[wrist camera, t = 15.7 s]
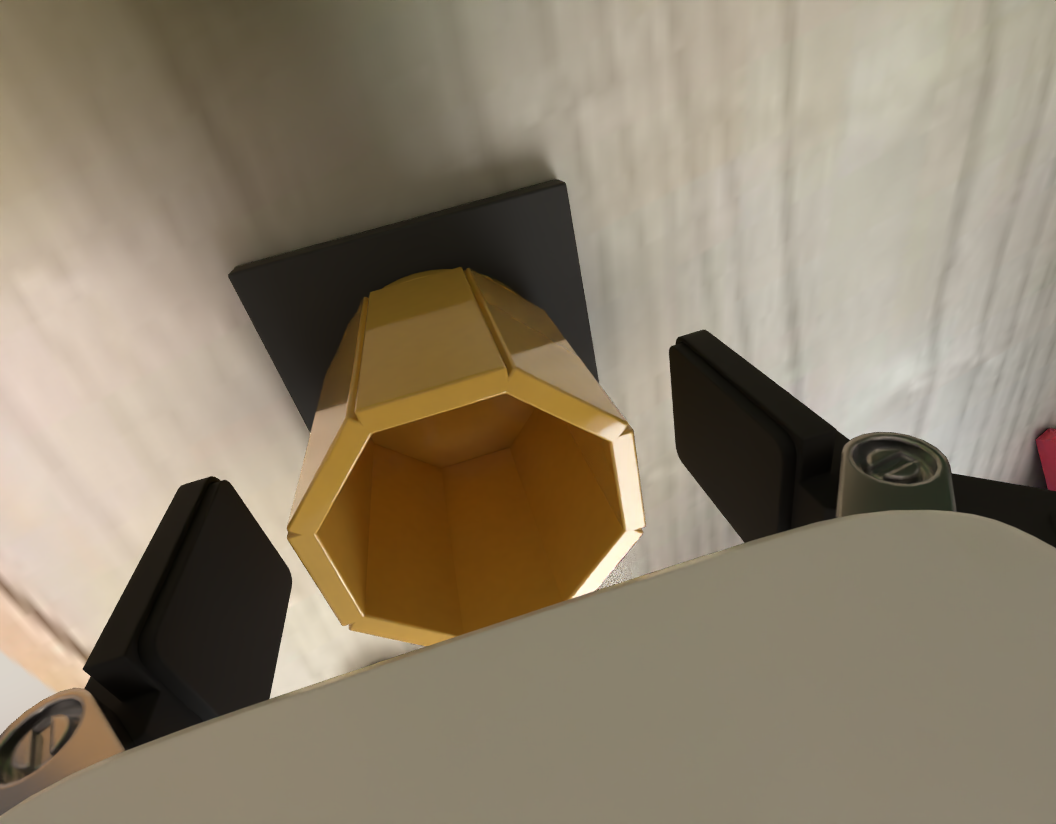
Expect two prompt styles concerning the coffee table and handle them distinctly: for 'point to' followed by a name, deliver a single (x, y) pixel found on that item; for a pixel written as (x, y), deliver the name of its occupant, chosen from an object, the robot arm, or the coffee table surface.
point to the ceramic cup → (460, 465)
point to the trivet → (407, 248)
